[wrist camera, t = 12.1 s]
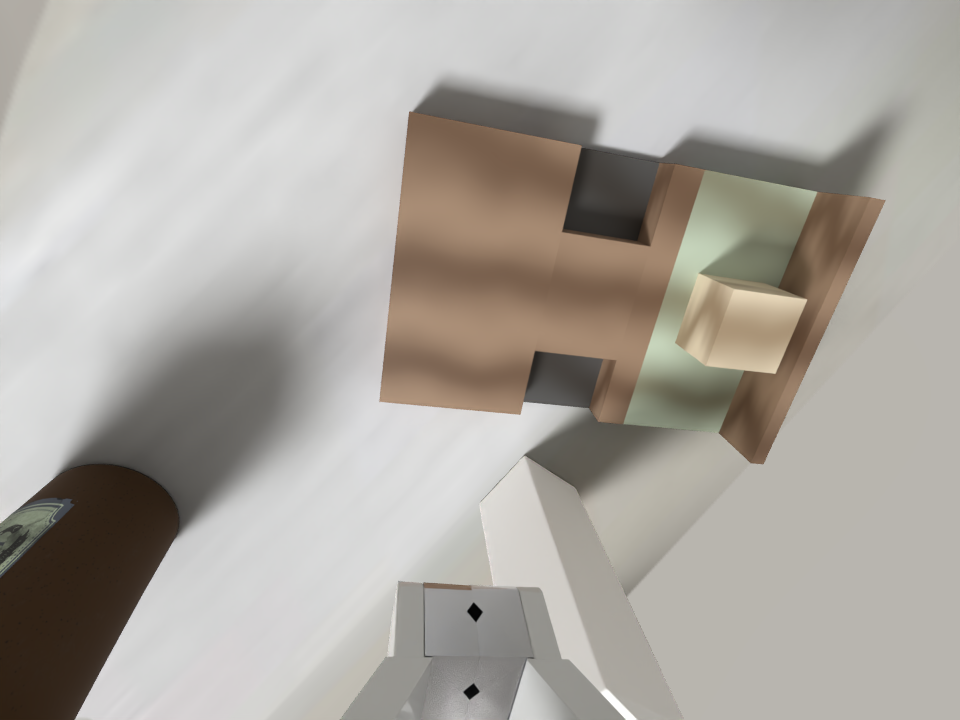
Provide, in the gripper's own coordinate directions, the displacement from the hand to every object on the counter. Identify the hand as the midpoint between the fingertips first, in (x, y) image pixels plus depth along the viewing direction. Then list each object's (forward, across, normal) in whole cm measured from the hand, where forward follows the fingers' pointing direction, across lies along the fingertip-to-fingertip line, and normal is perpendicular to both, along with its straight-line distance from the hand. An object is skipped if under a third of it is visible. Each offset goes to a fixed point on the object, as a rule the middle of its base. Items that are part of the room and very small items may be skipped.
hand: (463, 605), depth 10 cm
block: (+23, -20, -2) cm, 30 cm away
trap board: (+25, -11, -2) cm, 27 cm away
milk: (+26, -10, +16) cm, 32 cm away
